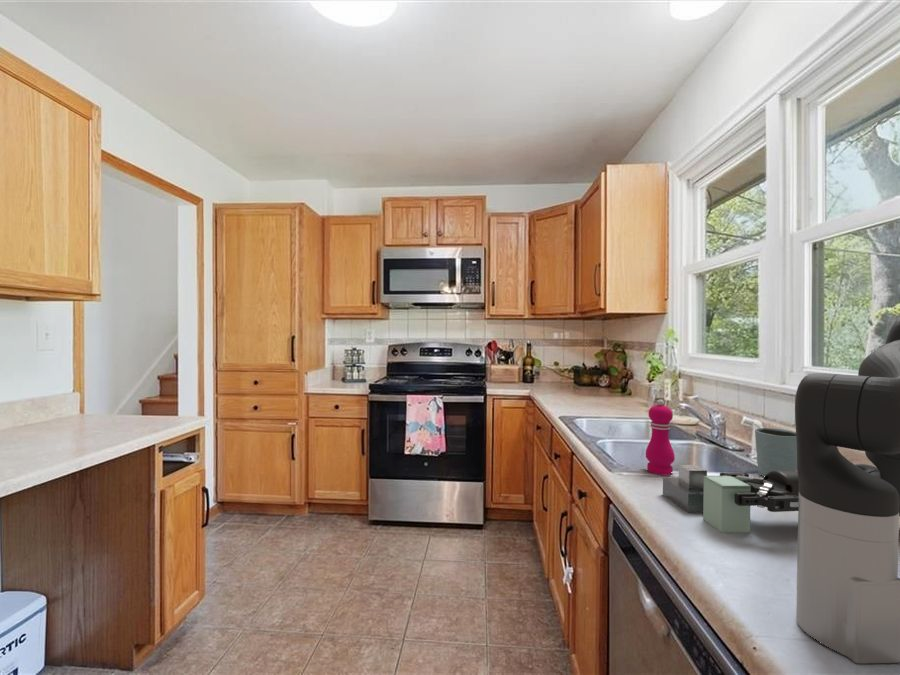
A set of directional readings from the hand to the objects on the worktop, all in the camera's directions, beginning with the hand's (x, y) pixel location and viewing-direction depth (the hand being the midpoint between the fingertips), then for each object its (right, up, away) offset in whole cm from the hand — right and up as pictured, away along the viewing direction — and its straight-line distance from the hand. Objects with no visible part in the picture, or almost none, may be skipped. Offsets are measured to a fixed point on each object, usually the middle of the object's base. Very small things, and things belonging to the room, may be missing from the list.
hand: (720, 490), depth 83 cm
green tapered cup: (+34, -7, +29) cm, 46 cm away
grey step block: (+1, -7, +11) cm, 13 cm away
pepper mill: (+4, -7, +32) cm, 33 cm away
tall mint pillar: (+1, -7, 0) cm, 7 cm away
